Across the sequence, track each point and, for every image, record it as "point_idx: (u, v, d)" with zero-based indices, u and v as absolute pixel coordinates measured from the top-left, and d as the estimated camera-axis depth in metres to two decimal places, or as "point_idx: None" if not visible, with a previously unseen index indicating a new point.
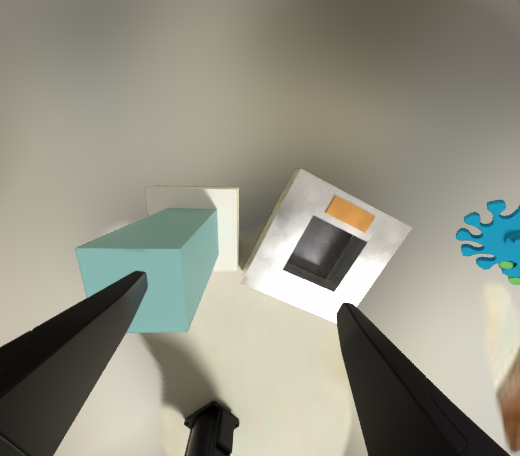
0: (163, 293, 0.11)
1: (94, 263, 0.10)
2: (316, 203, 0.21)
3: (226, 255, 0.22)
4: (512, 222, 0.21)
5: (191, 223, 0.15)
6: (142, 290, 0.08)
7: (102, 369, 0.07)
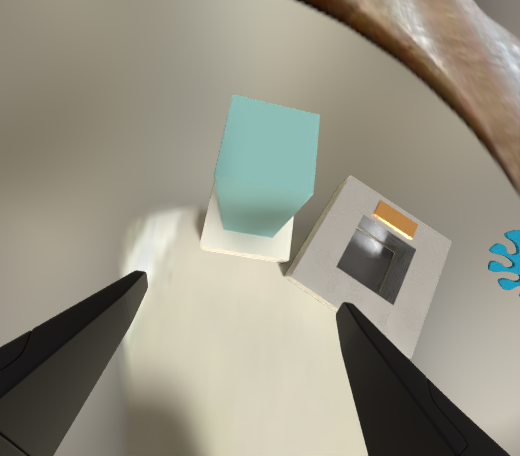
0: (297, 148, 0.11)
1: (243, 109, 0.11)
2: (365, 204, 0.23)
3: (279, 240, 0.21)
4: None
5: None
6: (142, 290, 0.08)
7: (102, 369, 0.07)
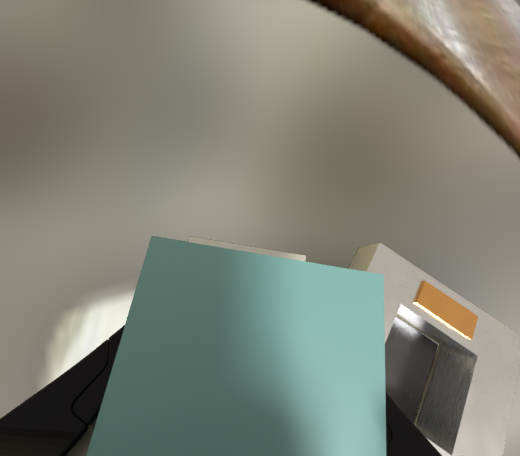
0: (333, 403, 0.04)
1: (180, 282, 0.04)
2: (402, 288, 0.16)
3: None
4: None
5: None
6: None
7: None
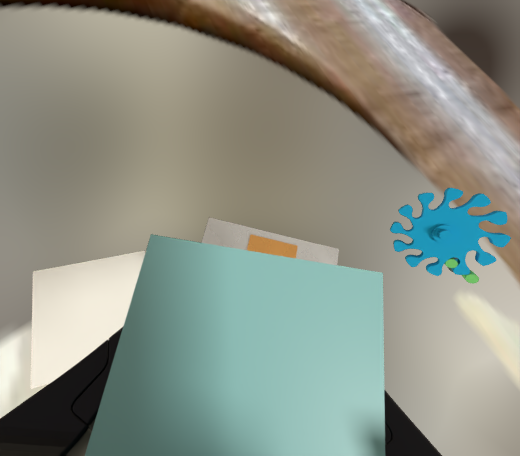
0: (331, 401, 0.04)
1: (179, 281, 0.04)
2: (233, 246, 0.20)
3: None
4: (426, 219, 0.23)
5: None
6: None
7: None
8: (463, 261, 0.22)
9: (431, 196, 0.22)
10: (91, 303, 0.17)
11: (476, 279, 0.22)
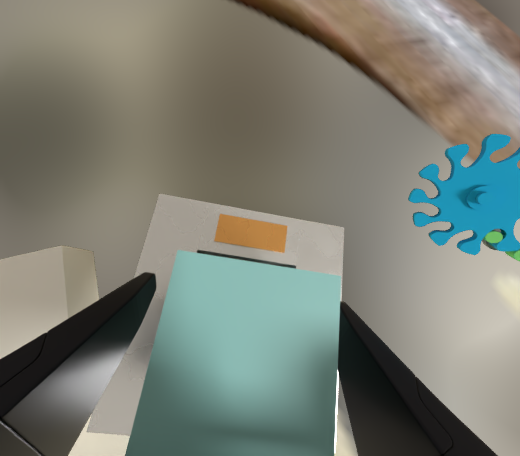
0: (301, 362, 0.06)
1: (197, 282, 0.06)
2: (196, 231, 0.14)
3: None
4: (458, 180, 0.17)
5: None
6: (151, 291, 0.08)
7: (113, 370, 0.07)
8: (511, 233, 0.17)
9: (465, 148, 0.17)
10: None
11: None
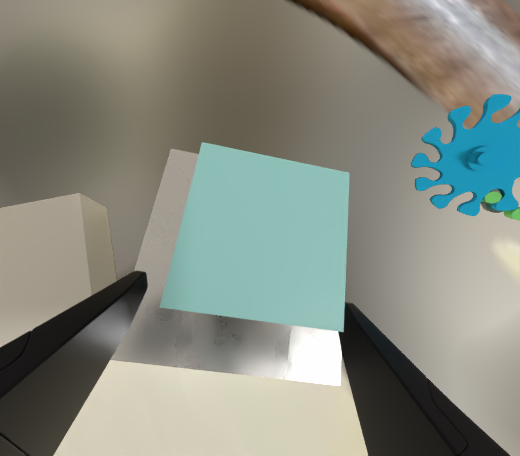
0: (314, 238, 0.06)
1: (220, 169, 0.06)
2: None
3: (69, 307, 0.12)
4: (459, 142, 0.18)
5: None
6: (142, 290, 0.08)
7: (102, 369, 0.07)
8: (509, 192, 0.17)
9: (467, 110, 0.17)
10: None
11: None
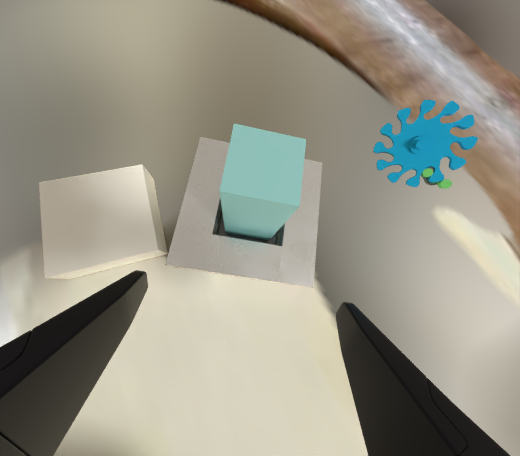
0: (287, 168, 0.13)
1: (243, 136, 0.13)
2: (225, 160, 0.22)
3: (140, 233, 0.19)
4: (404, 133, 0.25)
5: None
6: (142, 290, 0.08)
7: (102, 369, 0.07)
8: (438, 168, 0.24)
9: (408, 111, 0.25)
10: (95, 207, 0.19)
11: (449, 183, 0.24)
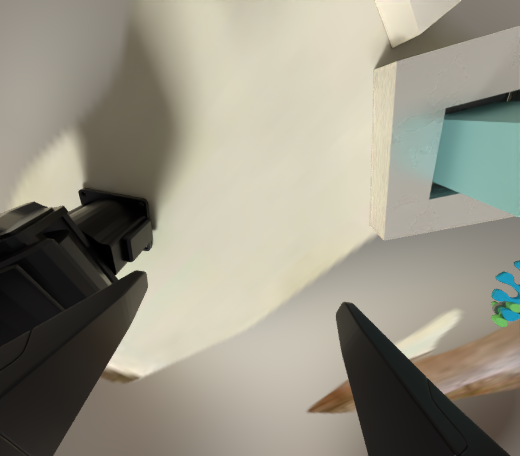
0: None
1: None
2: None
3: None
4: None
5: None
6: (142, 290, 0.08)
7: (102, 369, 0.07)
8: None
9: None
10: None
11: (501, 325, 0.25)
